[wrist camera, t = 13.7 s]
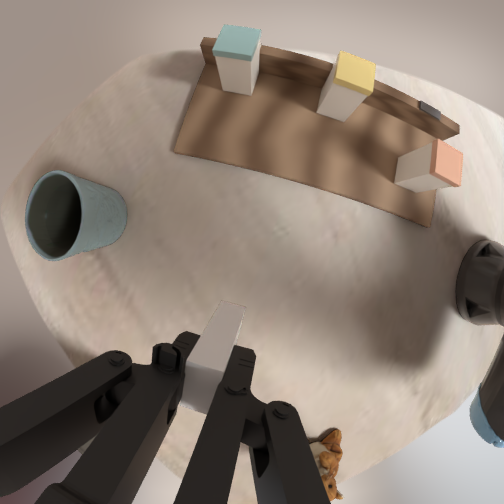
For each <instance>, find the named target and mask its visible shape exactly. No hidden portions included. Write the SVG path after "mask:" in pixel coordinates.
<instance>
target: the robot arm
mask: <svg viewBox="0 0 504 504" xmlns="http://www.w3.org/2000/svg"><path fill="white" fill-rule="evenodd" d="M456 301H457V306H458V310H459V312H460V314H461V316H462V317H463V318H464V319H465V320H467V321H469V322H471V323H473V324H476V325H498V324H499V325H502V326H504V246H503V245H501V244H500V243H498V242H495V241H489V240H482V241H479V242H477V243H476V244H474V245H473V246H472V247H471V248H470V250H469V251H468V252H467V254H466V256H465V257H464V259H463V262H462V264H461V267H460V270H459V273H458V278H457V284H456ZM245 309H246V307H244V306H241V305H237V304H233V303H230V302H226V301H223V300H222V301H221V302H220V304H219V306H218V308H217V309H216V311H215V313H214V314H213V316H212V318H211V319H210V321H209V323H208V324H207V326H206V328H205V330H204V331H203V333H202V335H201V336H200V335H197V334H194V333H191V332H188V331H185V332H183V333H181V334H179V335H178V337H177V338H176V339H175V341H174V342H173V344H170V343H160V344H156V345H155V346H154V347H153V352H152V363H151V364H150V365H141V364H136V363H132V359H131V357H130V356H129V355H128V354H126V353H124V352H122V351H117V350H114V351H108V352H106V353H104V354H102V355H100V356H98V357H96V358H94V359H93V360H91V361H89V362H87V363H85V364H83V365H81V366H79V367H78V368H76V369H74V370H72V371H70V372H68V373H66V374H65V375H63V376H61V377H59V378H57V379H55V380H53V381H51V382H49V383H47V384H45V385H44V386H42V387H40V388H38V389H36V390H34V391H32V392H30V393H28V394H26V395H24V396H22V397H20V398H19V399H16V400H14V401H12V402H11V403H9V404H7V405H5V406H3V407H1V408H0V497H3V496H6V495H9V494H11V493H13V492H15V491H17V490H19V489H20V488H22V487H24V486H25V485H27V484H28V483H30V482H31V481H33V480H34V479H36V478H37V477H39V476H40V475H42V474H43V473H45V472H46V471H48V470H49V469H50V468H52V467H53V466H55V465H56V464H58V463H59V462H60V461H62V460H63V459H65V458H66V457H68V456H69V455H70V454H72V453H73V452H74V451H76V450H77V449H79V448H80V447H81V446H83V445H84V444H85V443H87V442H88V441H89V440H91V439H92V438H93V437H95V436H96V435H97V436H96V437H95V438H94V440H93V441H92V442H91V444H90V445H89V447H88V448H87V449H86V451H85V452H84V453H83V455H82V456H81V457H80V459H79V460H78V462H77V463H76V464H75V466H74V467H73V468H72V470H71V471H70V472H69V474H68V475H67V477H66V478H65V479H64V480H63V481H62V482H61V483H53V484H51V485H49V486H48V487H47V488H46V489H45V490H44V492H43V493H42V494H41V496H40V497H39V498H38V500H37V501H36V502H35V504H132V502H133V500H134V498H135V496H136V494H137V492H138V490H139V488H140V486H141V484H142V481H143V480H144V478H145V476H146V474H147V472H148V470H149V468H150V466H151V464H152V462H153V460H154V458H155V456H156V454H157V452H158V450H159V448H160V446H161V443H162V441H163V439H164V437H165V435H166V433H167V431H168V429H169V427H170V425H171V423H172V421H173V419H174V417H175V415H176V412H177V406H178V404H179V402H180V406H183V407H185V408H188V409H191V410H195V411H198V412H201V413H204V414H207V416H206V419H205V422H204V424H203V427H202V430H201V432H200V435H199V438H198V440H197V443H196V446H195V448H194V451H193V454H192V456H191V459H190V462H189V464H188V467H187V470H186V472H185V475H184V477H183V480H182V483H181V485H180V488H179V491H178V493H177V496H176V498H175V501H174V503H173V504H227V501H228V497H229V493H230V488H231V484H232V479H233V475H234V470H235V466H236V461H237V456H238V452H239V447H240V442H242V443H244V444H246V445H248V446H249V453H250V459H251V465H252V472H253V478H254V484H255V490H256V495H257V501H258V504H331V503H330V500H329V497H328V495H327V492H326V489H325V486H324V484H323V481H322V478H321V475H320V473H319V470H318V467H317V464H316V462H315V459H314V456H313V453H312V451H311V448H310V445H309V442H308V440H307V437H306V434H305V431H304V428H303V426H302V423H301V420H300V417H299V414H298V412H297V410H296V409H295V407H293V406H292V405H291V404H289V403H286V402H283V401H272V402H270V403H268V404H266V403H264V402H261V401H260V400H258V399H257V398H256V397H254V395H253V394H252V393H251V390H250V386H251V381H252V376H253V370H254V365H255V360H256V355H255V353H254V351H253V350H252V349H248V348H244V347H241V346H237V345H236V344H237V340H238V336H239V332H240V329H241V325H242V321H243V317H244V313H245ZM180 400H181V401H180ZM470 420H471V423H472V425H473V427H474V429H475V430H476V432H477V433H478V434H479V435H480V436H481V437H482V438H483V439H484V440H485V441H486V442H488V443H490V444H491V443H493V445H494V446H496V447H500V448H502V447H504V334H503V337H502V339H501V342H500V344H499V347H498V349H497V351H496V354H495V356H494V358H493V361H492V363H491V365H490V367H489V369H488V371H487V373H486V375H485V377H484V379H483V381H482V383H480V385H479V387H478V391H477V394H476V396H475V398H474V400H473V401H472V404H471V406H470Z"/></svg>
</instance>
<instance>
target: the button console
mask: <svg viewBox="0 0 504 504" xmlns="http://www.w3.org/2000/svg"><path fill="white" fill-rule="evenodd" d="M216 40H217V38H207V37H204V38H203V40H202V42H201V44H200V46H201V49H202V53H203V56H204V59H205V63H206V64H205V66H204V69H203V71H202V74H201V76H200V79H199V81H198V84H197V86H196V89H195V91H194V94H193V96H192V99H191V102H190V104H189V107H188V110H187V113H186V115H185V118H184V121H183V124H182V127H181V130H180V133H179V136H178V139H177V142H176V145H175V148H174V152H175V153H177V154H182V155H187V156H192V157H197V158H202V159H207V160H211V161H216V162H220V163H225V164H229V165H233V166H238V167H242V168H246V169H250V170H254V171H258V172H262V173H266V174H269V175H273V176H277V177H280V178H284V179H288V180H291V181H295V182H298V183H302V184H305V185H308V186H312V187H315V188H318V189H321V190H325V191H328V192H331V193H334V194H337V195H340V196H343V197H346V198H349V199H352V200H355V201H358V202H361V203H364V204H367V205H370V206H372V207H375V208H378V209H381V210H383V211H386V212H389V213H392V214H394V215H397V216H399V217H402V218H405V219H407V220H410V221H412V222H415V223H417V224H420V225H422V226H424V227H430V225H431V220H432V215H433V209H434V203H435V196H436V190H437V189H435V190H429V191H423V192H418V193H415V192H413V191H411V190H409V189H406V188H404V187H402V186H399V185H397V184H395V183H394V181H395V175H396V169H397V163H398V157H401V156H403V155H405V154H407V153H410V152H412V151H414V150H416V149H419V148H421V147H423V146H425V145H428V144H430V143H432V141H434V140H436V139H440V140H442V141H443V140H445V139H448V138H450V137H452V136H455V135H457V134H459V125H458V124H457V123H455V122H454V121H452V120H451V119H449V118H447V117H446V116H444V115H443V114H441V112H440V111H438V110H437V109H435V108H433V107H432V106H430V105H428V104H426V103H424V102H423V101H418V100H416V99H414V98H412V97H411V96H409V95H407V94H405V93H403V92H401V91H399V90H396V89H394V88H392V87H390V86H388V85H386V84H384V83H381V82H379V81H377V80H374V87H373V92H372V93H371V95H370V96H367V97H366V98H365V99H364V100H363V102H362V103H361V104H360V105H359V106H358V107H357V108H356V109H355V110H354V112H353V113H352V114H351V115H350V116H349V117H348V118H347V119H346V121H345V122H342V121H339V120H336V119H333V118H331V117H328V116H324V115H321V114H318V113H316V112H317V108H318V104H319V99H320V95H321V90H322V88H323V86H324V84H325V82H326V80H327V78H328V76H329V74H330V72H331V70H332V68H333V66H334V65H335V63H333V64H332V63H329V62H326V61H323V60H319V59H316V58H313V57H309V56H306V55H302V54H298V53H295V52H291V51H286V50H282V49H278V48H273V47H268V46H263V45H262V44H260V51H259V74H258V77H257V80H256V83H255V86H254V89H253V93H252V96H249V95H244V94H239V93H234V92H229V91H223V89H222V84H221V80H220V76H219V71H218V67H217V63H216V59H215V56H213V51H212V49H213V47H214V45H215V43H216Z"/></svg>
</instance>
